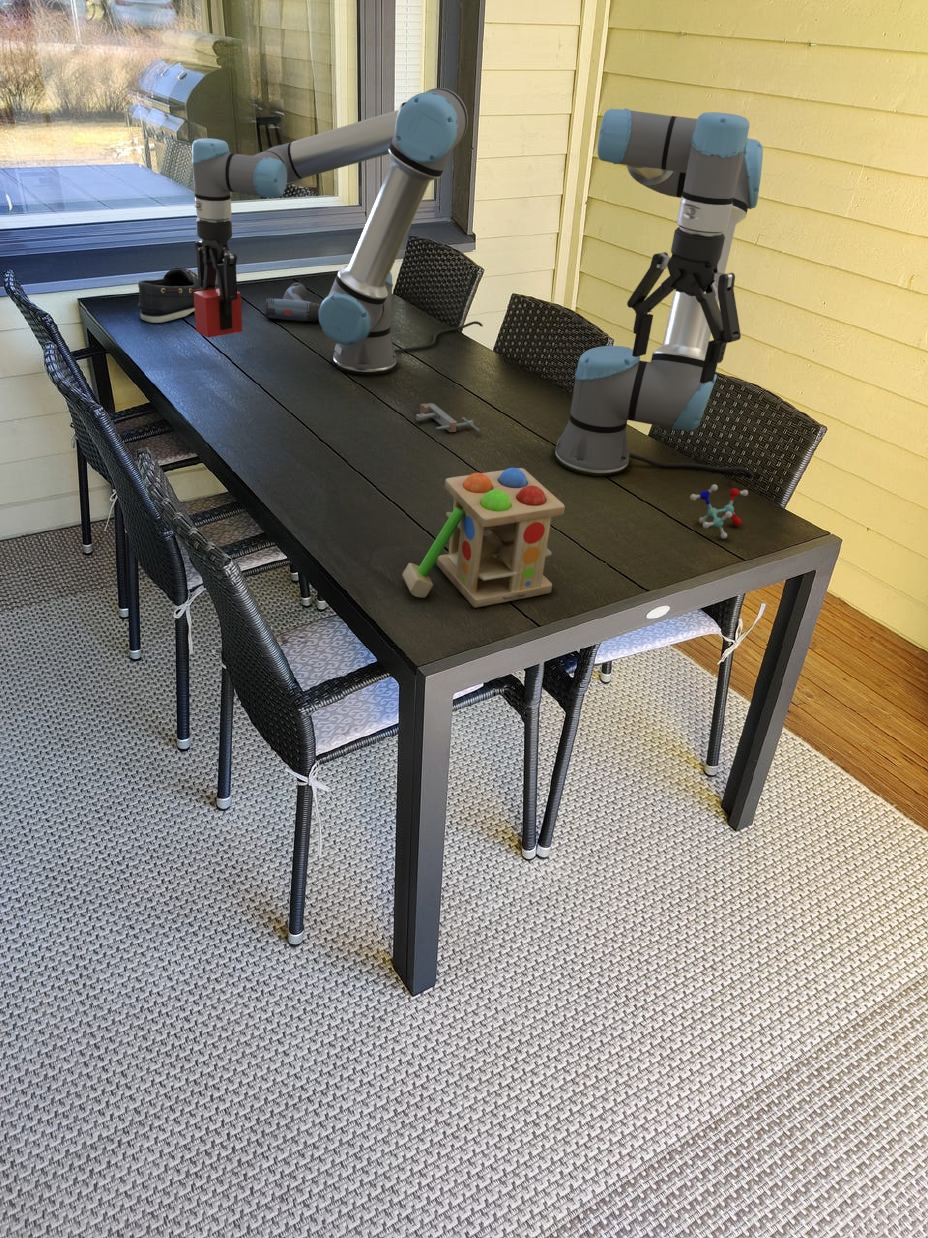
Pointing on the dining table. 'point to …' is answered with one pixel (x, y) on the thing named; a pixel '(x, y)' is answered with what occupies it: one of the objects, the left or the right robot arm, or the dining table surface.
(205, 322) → the block
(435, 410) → the clamp
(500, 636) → the dining table surface
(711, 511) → the molecular model
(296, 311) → the power drill
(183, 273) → the boat shoe
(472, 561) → the pounding bench toy
